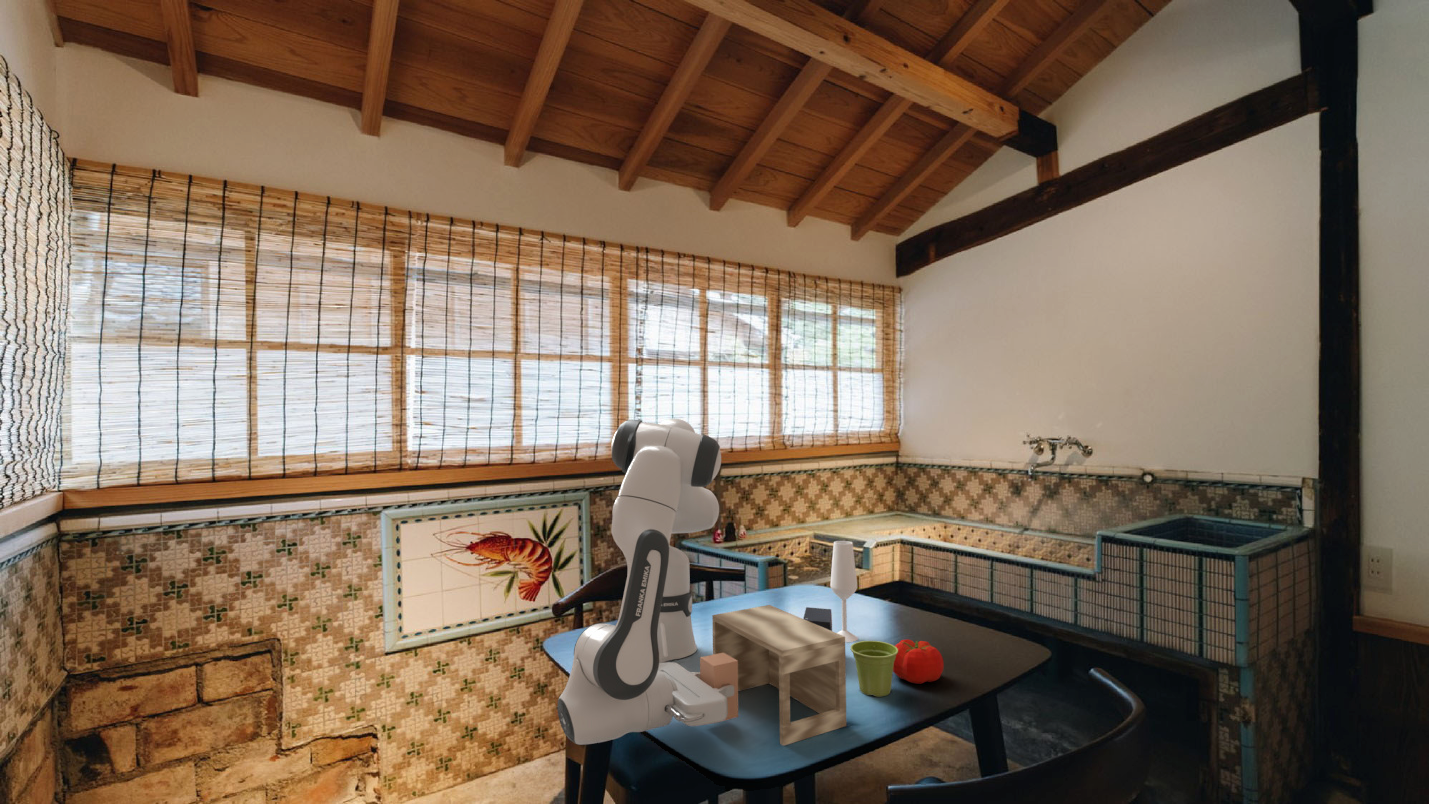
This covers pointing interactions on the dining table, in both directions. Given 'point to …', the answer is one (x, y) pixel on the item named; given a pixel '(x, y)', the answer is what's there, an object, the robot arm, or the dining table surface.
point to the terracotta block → (721, 677)
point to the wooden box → (787, 665)
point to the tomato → (917, 662)
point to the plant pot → (874, 666)
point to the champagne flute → (844, 580)
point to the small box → (819, 617)
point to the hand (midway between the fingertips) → (723, 682)
